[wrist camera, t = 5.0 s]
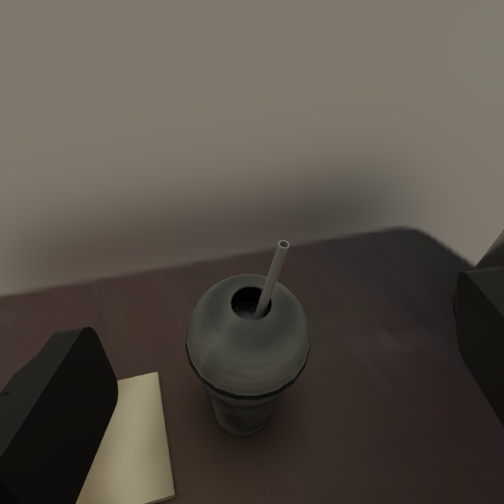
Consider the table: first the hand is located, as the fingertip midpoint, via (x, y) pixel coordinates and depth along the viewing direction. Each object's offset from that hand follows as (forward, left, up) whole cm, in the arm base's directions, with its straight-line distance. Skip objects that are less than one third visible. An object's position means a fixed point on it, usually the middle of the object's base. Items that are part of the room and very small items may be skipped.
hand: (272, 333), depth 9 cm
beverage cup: (-2, -7, -26) cm, 27 cm away
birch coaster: (+9, -6, -26) cm, 28 cm away
